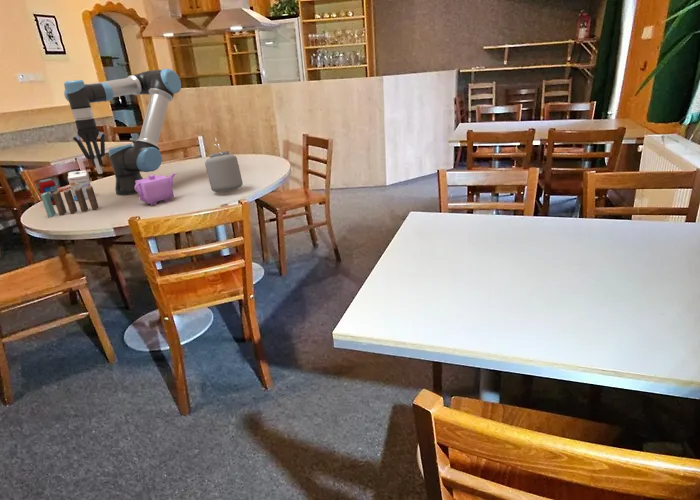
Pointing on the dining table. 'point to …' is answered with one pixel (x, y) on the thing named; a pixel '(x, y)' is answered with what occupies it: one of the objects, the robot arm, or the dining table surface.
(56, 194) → the domino
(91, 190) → the domino
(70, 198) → the domino
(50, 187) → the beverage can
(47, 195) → the domino
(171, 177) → the teapot
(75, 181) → the ink box
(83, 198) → the domino
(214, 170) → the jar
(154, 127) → the robot arm
